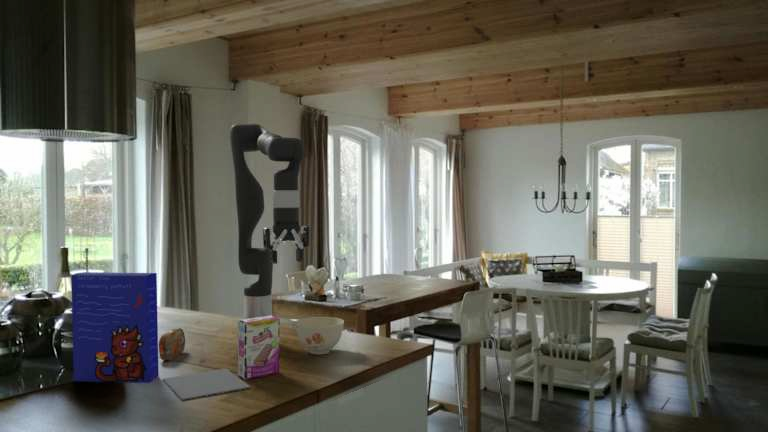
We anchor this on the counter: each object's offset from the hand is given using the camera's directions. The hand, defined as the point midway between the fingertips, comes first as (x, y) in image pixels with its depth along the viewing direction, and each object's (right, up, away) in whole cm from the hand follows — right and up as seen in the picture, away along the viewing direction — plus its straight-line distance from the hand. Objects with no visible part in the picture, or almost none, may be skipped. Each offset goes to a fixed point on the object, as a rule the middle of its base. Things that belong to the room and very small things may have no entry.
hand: (286, 262), depth 181 cm
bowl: (+7, -31, +22) cm, 39 cm away
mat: (-20, -33, -12) cm, 40 cm away
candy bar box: (-7, -32, -3) cm, 33 cm away
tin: (-39, -32, +16) cm, 53 cm away
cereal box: (-47, -33, -6) cm, 58 cm away
